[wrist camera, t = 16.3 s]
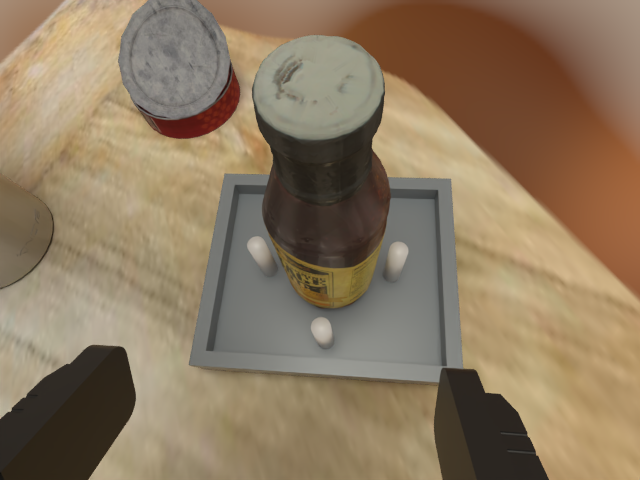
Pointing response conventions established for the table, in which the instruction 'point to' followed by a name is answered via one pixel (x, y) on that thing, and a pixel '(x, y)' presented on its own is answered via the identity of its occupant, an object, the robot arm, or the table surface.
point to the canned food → (178, 68)
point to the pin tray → (333, 323)
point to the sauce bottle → (323, 165)
